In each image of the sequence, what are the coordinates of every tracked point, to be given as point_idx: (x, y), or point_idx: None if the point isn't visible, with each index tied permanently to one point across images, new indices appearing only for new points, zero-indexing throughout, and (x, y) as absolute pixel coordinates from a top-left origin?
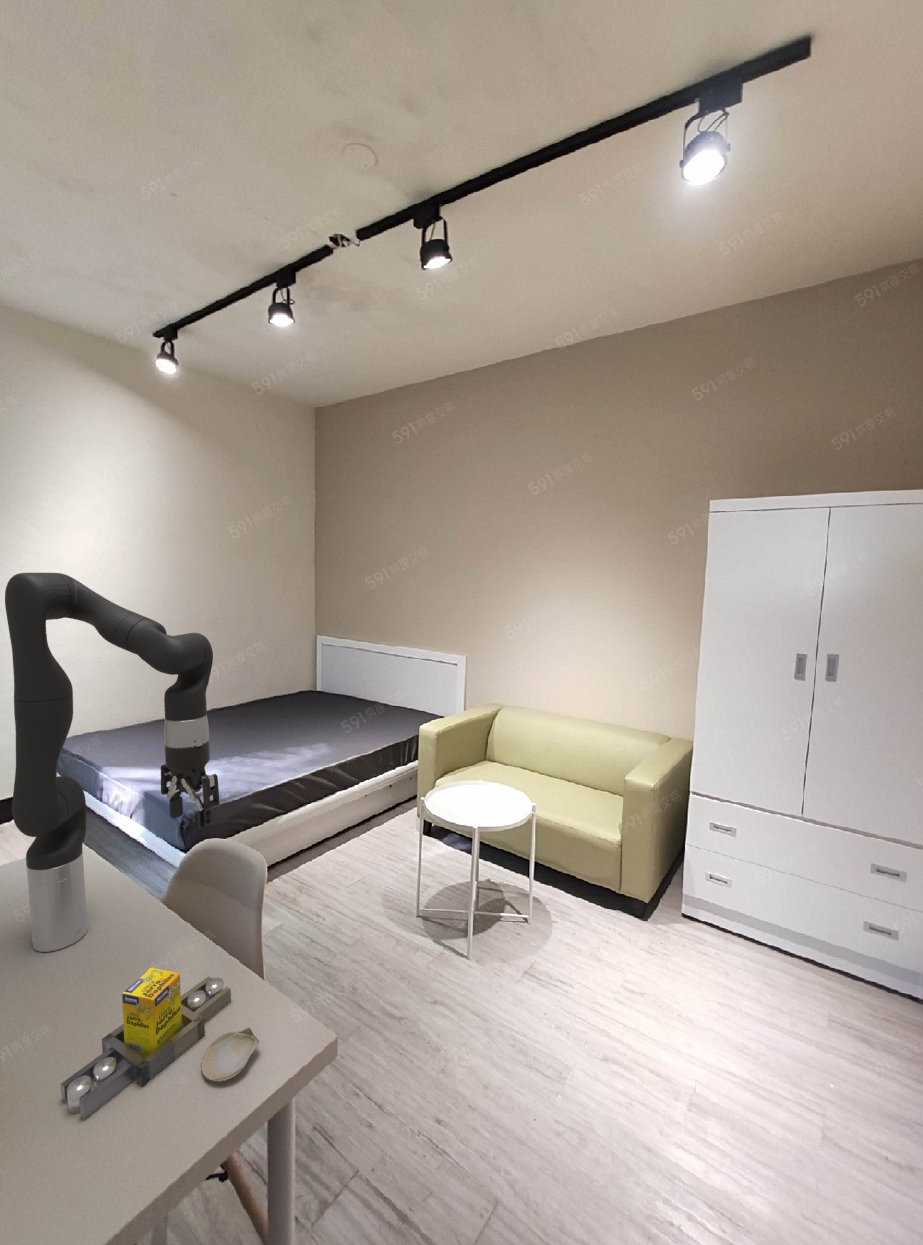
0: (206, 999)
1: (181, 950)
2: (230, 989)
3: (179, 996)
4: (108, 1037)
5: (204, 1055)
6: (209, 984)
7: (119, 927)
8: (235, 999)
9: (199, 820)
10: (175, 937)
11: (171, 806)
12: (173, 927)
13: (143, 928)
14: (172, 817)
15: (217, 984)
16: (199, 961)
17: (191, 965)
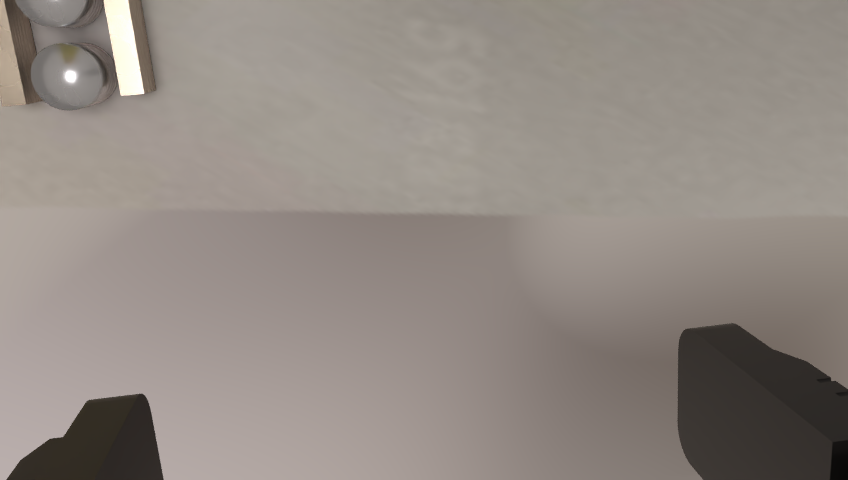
0: (88, 44)
1: (450, 143)
2: (3, 105)
3: None
4: None
5: None
6: (76, 62)
7: (789, 68)
8: (23, 118)
9: (77, 454)
10: (542, 169)
11: (785, 393)
12: (605, 195)
13: (701, 122)
14: (693, 330)
15: (49, 81)
16: (332, 150)
17: (336, 120)
